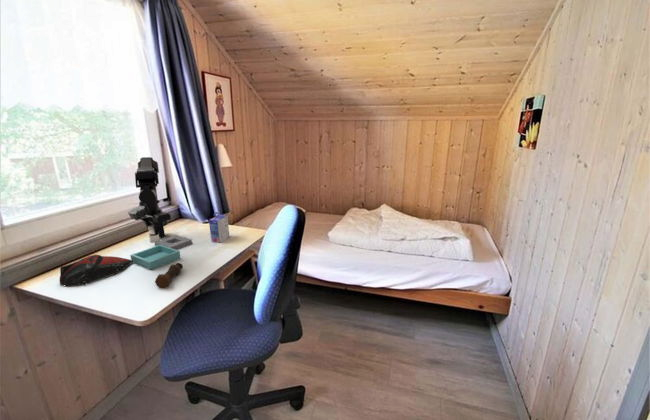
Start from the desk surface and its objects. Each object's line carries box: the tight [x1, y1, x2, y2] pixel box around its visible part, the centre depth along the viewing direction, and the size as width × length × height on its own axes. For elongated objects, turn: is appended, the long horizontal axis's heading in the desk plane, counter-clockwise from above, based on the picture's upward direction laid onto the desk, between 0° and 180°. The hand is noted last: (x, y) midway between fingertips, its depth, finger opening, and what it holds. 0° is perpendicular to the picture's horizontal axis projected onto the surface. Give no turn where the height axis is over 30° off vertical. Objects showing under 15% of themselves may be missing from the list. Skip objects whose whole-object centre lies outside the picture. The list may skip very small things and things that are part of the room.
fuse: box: [147, 225, 161, 244], centre depth 137 cm, size 4×4×7 cm
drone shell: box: [59, 254, 132, 287], centre depth 126 cm, size 21×20×8 cm
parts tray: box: [129, 245, 182, 271], centre depth 139 cm, size 14×14×4 cm
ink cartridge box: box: [208, 211, 230, 244], centre depth 163 cm, size 10×6×14 cm, turn 167°
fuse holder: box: [154, 234, 193, 250], centre depth 156 cm, size 12×12×2 cm
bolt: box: [154, 262, 184, 289], centre depth 124 cm, size 6×5×15 cm
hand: (153, 233), depth 137 cm, fingers closed on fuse, 4 cm apart
